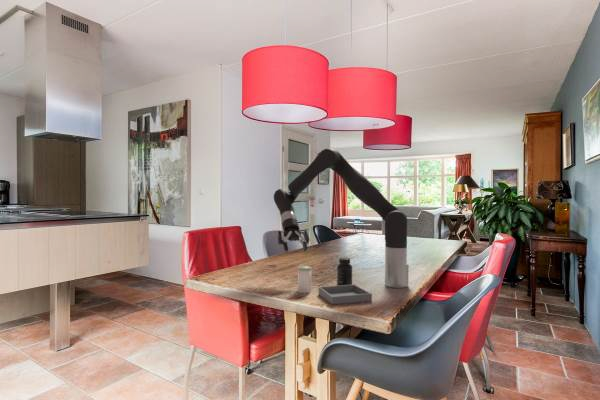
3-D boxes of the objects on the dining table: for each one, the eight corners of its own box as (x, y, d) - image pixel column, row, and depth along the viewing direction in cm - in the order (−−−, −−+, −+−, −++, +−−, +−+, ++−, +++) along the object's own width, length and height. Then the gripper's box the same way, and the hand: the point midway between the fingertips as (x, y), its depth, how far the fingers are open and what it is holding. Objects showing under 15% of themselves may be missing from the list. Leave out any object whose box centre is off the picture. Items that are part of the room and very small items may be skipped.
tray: (354, 291, 142) (354, 284, 142) (371, 301, 129) (371, 293, 129) (318, 294, 138) (318, 287, 138) (332, 305, 124) (332, 297, 124)
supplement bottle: (342, 282, 157) (342, 256, 157) (355, 285, 152) (355, 258, 152) (333, 285, 152) (334, 258, 151) (347, 288, 147) (347, 260, 147)
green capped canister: (308, 289, 146) (308, 265, 146) (313, 292, 140) (313, 268, 140) (295, 290, 144) (295, 266, 144) (299, 293, 138) (300, 269, 138)
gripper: (276, 217, 159) (282, 245, 148) (305, 217, 163) (313, 244, 153) (273, 227, 164) (279, 256, 153) (302, 227, 169) (309, 254, 158)
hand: (296, 250), depth 153 cm, fingers open, 8 cm apart
